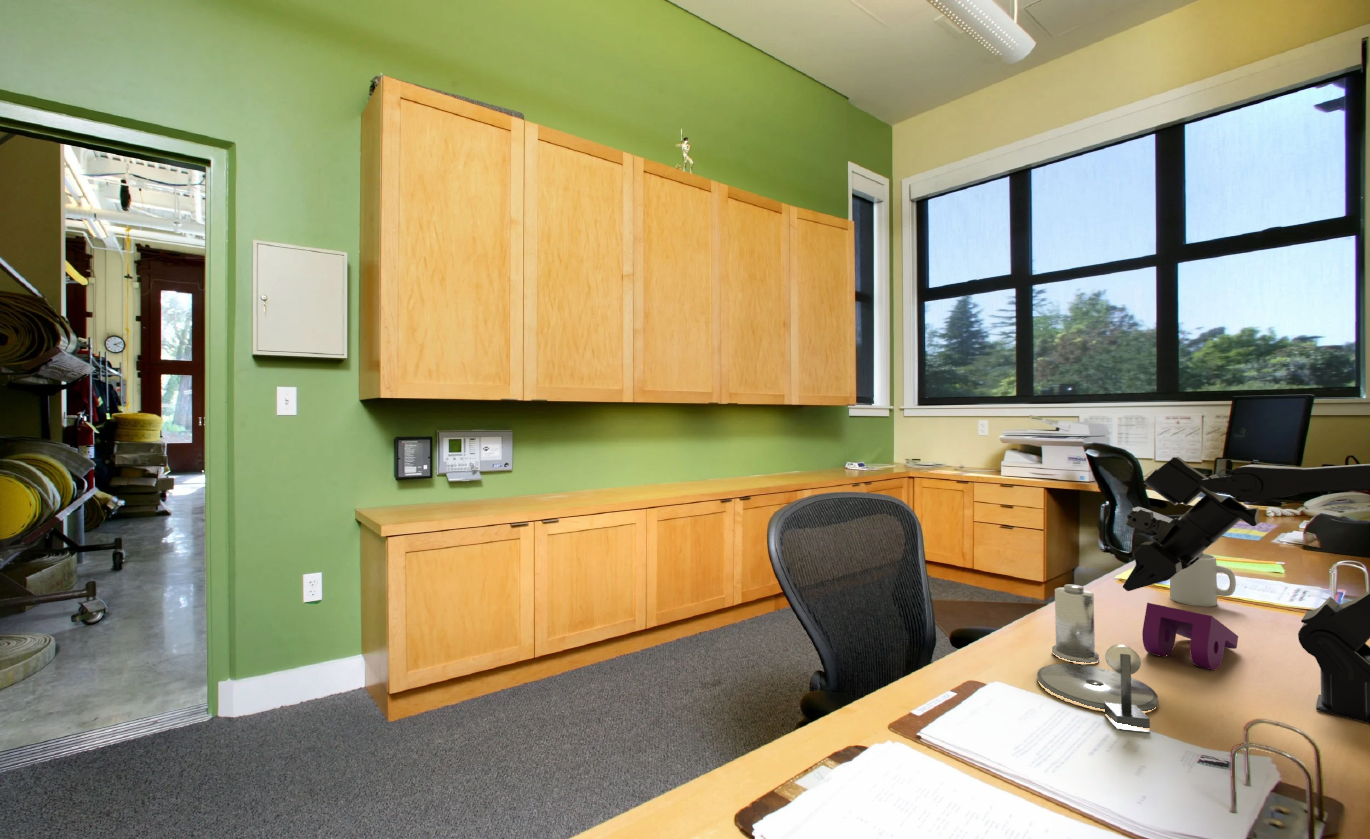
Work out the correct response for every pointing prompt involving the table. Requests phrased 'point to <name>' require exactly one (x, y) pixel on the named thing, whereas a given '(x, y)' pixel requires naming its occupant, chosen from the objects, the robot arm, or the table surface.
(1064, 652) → the silver metal cylinder
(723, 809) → the table surface
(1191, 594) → the mug
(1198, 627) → the mounting bracket
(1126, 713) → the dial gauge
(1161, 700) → the table surface
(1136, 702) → the disc
